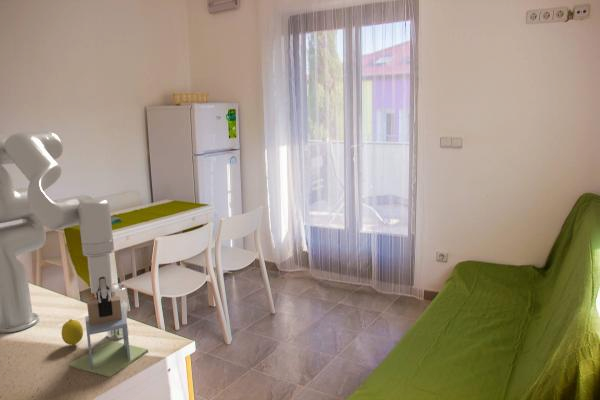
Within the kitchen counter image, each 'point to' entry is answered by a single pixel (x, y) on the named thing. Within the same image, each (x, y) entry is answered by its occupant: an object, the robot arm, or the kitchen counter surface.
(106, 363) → the mat
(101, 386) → the kitchen counter surface
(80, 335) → the lemon
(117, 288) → the beer glass
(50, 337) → the kitchen counter surface
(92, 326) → the cover
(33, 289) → the kitchen counter surface
